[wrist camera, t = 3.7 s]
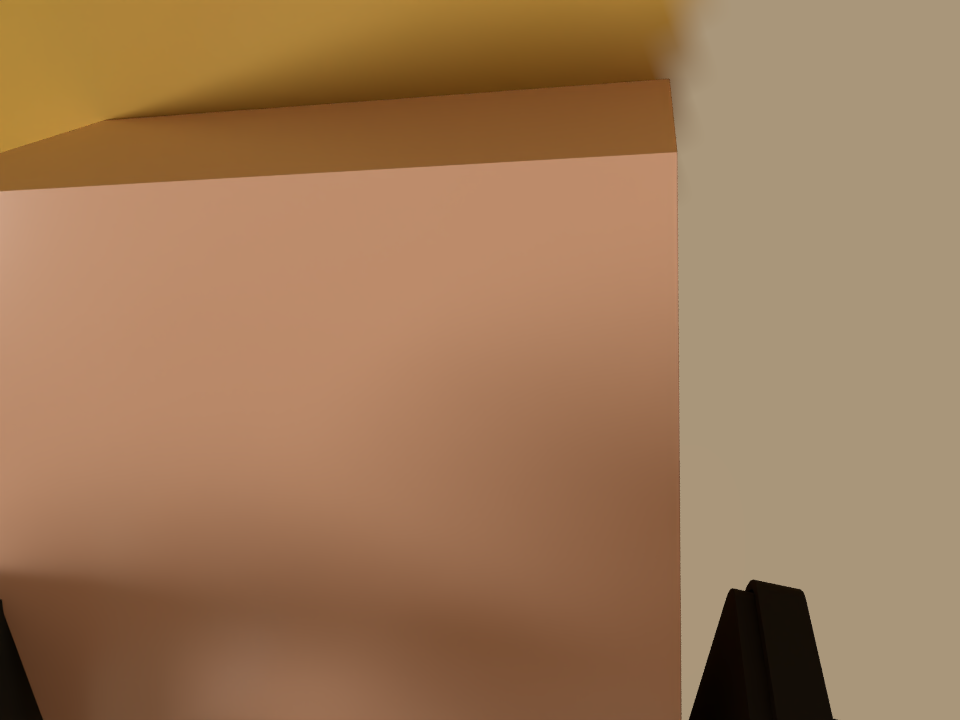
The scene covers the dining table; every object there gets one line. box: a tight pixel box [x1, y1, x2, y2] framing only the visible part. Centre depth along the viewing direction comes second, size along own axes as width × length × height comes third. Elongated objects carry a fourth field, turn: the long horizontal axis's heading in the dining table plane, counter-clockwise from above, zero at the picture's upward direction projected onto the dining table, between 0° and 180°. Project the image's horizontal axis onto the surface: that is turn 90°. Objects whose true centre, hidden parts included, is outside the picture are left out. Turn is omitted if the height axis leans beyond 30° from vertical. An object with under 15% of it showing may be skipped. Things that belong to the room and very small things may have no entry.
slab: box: [0, 79, 681, 720], centre depth 10 cm, size 12×6×4 cm, turn 6°
